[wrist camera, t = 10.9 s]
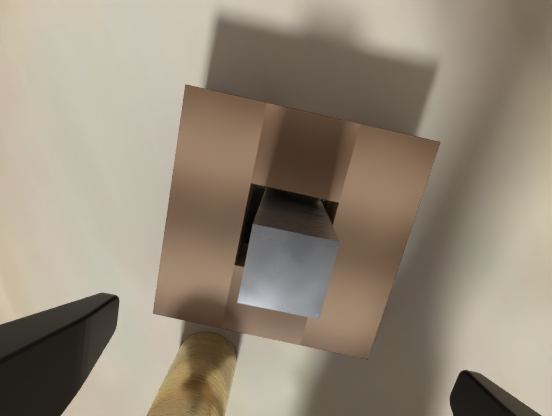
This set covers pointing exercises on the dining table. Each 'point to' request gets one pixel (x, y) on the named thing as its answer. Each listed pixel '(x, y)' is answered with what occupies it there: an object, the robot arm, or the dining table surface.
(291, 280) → the square bit
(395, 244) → the socket block
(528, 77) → the dining table surface
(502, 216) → the dining table surface
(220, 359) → the round bit
